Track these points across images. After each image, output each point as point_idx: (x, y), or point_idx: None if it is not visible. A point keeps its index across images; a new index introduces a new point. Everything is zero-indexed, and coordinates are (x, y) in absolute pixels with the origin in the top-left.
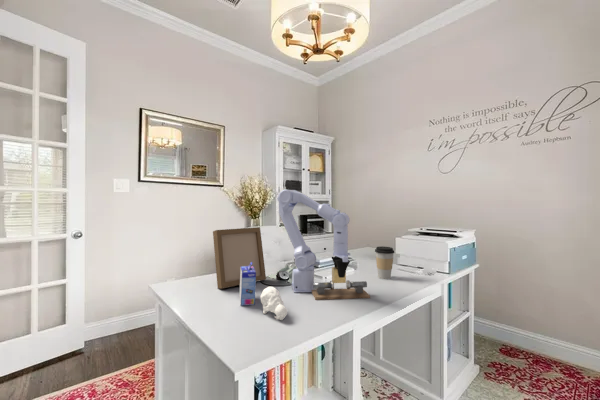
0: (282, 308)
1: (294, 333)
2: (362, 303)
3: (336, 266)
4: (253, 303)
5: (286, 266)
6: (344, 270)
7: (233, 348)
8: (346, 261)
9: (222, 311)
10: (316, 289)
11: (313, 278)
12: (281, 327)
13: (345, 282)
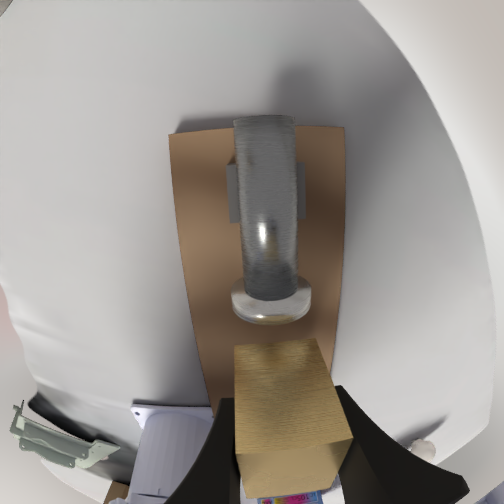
0: (433, 457)
1: (470, 406)
2: (409, 213)
3: (237, 489)
4: (320, 492)
5: (28, 450)
6: (367, 437)
7: (454, 447)
8: (501, 486)
9: (335, 500)
10: (213, 413)
11: (190, 460)
12: (442, 429)
13: (316, 341)
